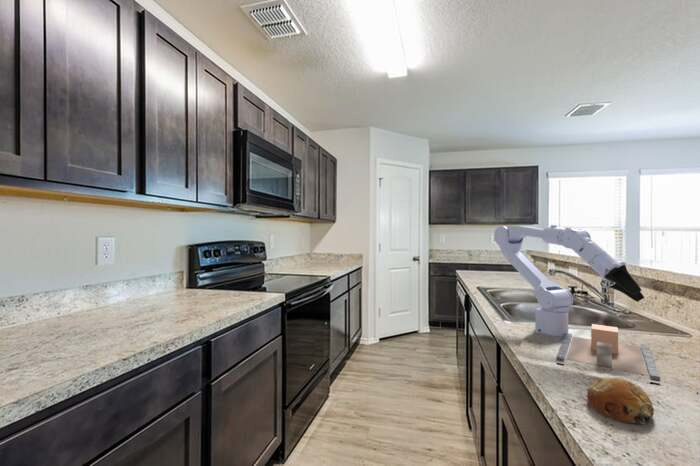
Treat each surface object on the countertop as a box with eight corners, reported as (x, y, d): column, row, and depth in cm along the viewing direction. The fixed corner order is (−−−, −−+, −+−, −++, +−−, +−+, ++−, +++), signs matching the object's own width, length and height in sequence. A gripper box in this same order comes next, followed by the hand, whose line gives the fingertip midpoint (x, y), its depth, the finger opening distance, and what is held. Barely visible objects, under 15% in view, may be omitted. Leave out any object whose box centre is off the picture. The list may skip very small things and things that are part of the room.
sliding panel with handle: (566, 363, 87) (566, 340, 87) (573, 339, 106) (573, 321, 106) (647, 379, 78) (647, 353, 78) (639, 350, 97) (639, 329, 97)
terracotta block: (591, 349, 95) (591, 328, 95) (591, 343, 99) (591, 323, 99) (618, 354, 91) (618, 332, 91) (617, 348, 96) (617, 327, 96)
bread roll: (643, 425, 66) (634, 382, 69) (670, 429, 57) (659, 379, 60) (584, 416, 69) (579, 375, 72) (602, 419, 60) (595, 372, 64)
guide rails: (556, 364, 87) (556, 356, 87) (565, 339, 108) (565, 332, 108) (660, 385, 75) (660, 376, 75) (648, 352, 95) (648, 345, 95)
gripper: (607, 242, 92) (651, 279, 82) (615, 259, 101) (656, 294, 92) (583, 257, 94) (624, 295, 85) (593, 273, 104) (631, 308, 94)
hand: (639, 296), depth 88 cm, fingers open, 7 cm apart
